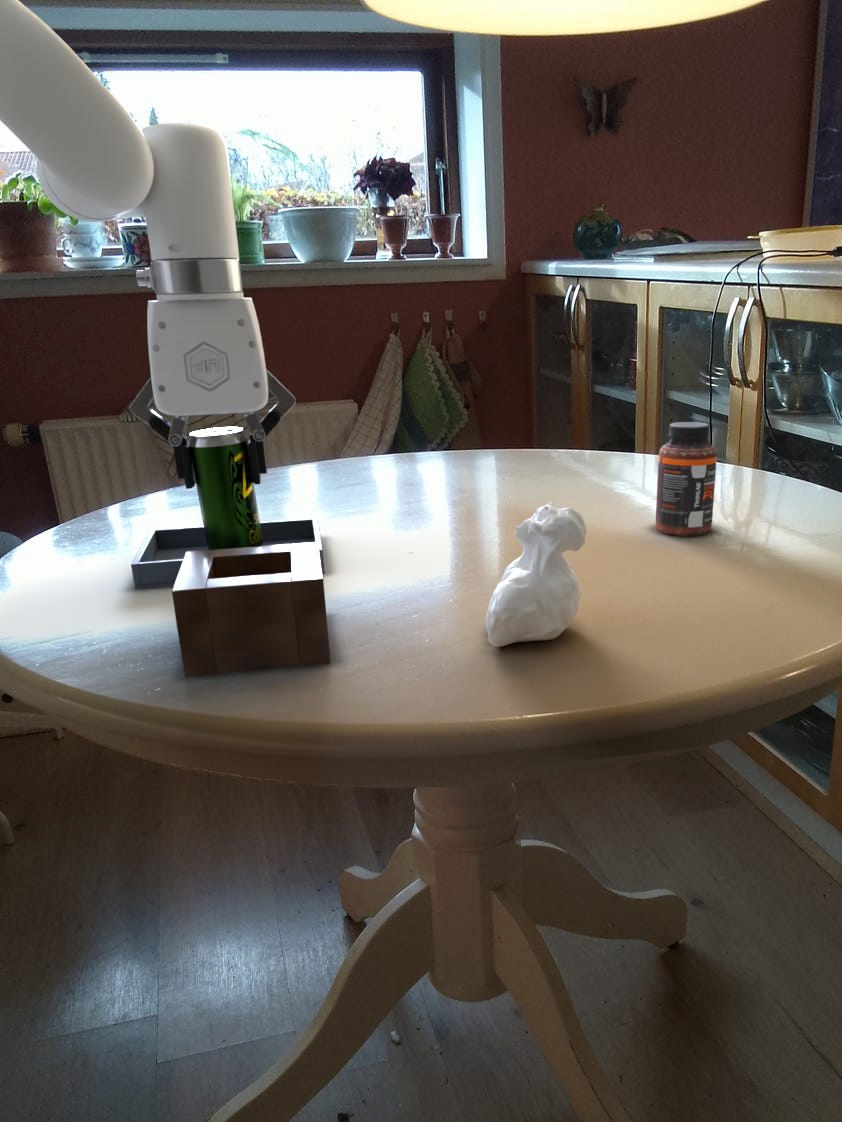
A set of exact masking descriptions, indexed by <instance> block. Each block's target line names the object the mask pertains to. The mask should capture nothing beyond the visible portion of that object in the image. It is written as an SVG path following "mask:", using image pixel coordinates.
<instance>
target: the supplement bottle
mask: <svg viewBox="0 0 842 1122" xmlns="http://www.w3.org/2000/svg"><path fill="white" fill-rule="evenodd" d="M668 430H669V432H668V437H669V439H670V440H669V441H668V442H666V443H665V444H663V445H662V446H661V447H660V449H659V452H658V463H657V481H656V482H657V484H656V502H655V503H656V505H655V528H656V530H658V531H659V532H660V533H663V534H665V535H671V536H678V537H679V536H680V537H695V536H701V535H705V534H707V533H710V531H711V530H712V525H713V524H712V523H713V517H714V502H715V486H716V474H717V473H716V472H717V458H718V452H717V449H716V447H715V446H713V445H712V444H711V442H710V441H709V437H710V425H709V424H708V423H705V422H700V421H699V422H696V421H695V422H694V421H679V422H672V423H670V424H669V429H668Z"/></svg>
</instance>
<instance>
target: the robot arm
mask: <svg viewBox="0 0 842 1122" xmlns="http://www.w3.org/2000/svg"><path fill="white" fill-rule="evenodd" d="M0 122H1V123H2V124H3V125H4V126H5V127H7V129H9V131H10V132H11V133H13V135H14V136H15V137H16V138H17V139H18V140H20V142H21V143H22V144H23V145H24V146H25V147H26V148H27V149H28V150H29V151H30V152H31V153H32V155H34V156H35V157H36V158H37V159H36V173H37V178H38V181H39V185H40V187H41V189H42V191H43V192H44V194H45V196H46V197H47V199H48V200H49V201H50V202H51V203H52V205H54V206H55V207H56V208H57V209H58V210H59V211H60V212H62V213H63V214H66V215H67V216H69V217H71V218H73V219H76V220H79V221H83V222H87V223H103V222H110V221H117V220H124V219H131V218H141V217H144V218H145V223H146V224H145V225H146V231H147V239H148V244H149V252H150V258H151V259H150V260H151V261H150V266H148V267H147V268H146V267H145V268H144V269H140V270H139V269H138V270H136V271H135V275H136V282H137V286H138V287H147V289H148V288H151V290H152V291H153V290H154V294H156V300H148V301H147V312H146V313H147V315H146V316H147V317H146V318H147V319H146V320H147V321H146V322H147V328H146V329H147V330H146V331H147V346H148V360H149V366H150V367H149V369H150V377H149V379H148V380H147V381H146V382H145V384H144V385H143V387H142V388H141V389H140V391H139V393H138V394H137V395H136V397H134V399H133V401H132V402H131V403H130V405H129V408H128V410H129V412H130V413H131V414H132V415H133V416H135V417H136V418H138V419H139V420H140V421H142V422H143V423H145V424H146V425H148V426H149V427H150V428H151V429H152V430H153V431H155V432H156V433H157V434H158V435H159V436H161V437H162V438H164V440H166V441H167V442H168V443H169V445H170V446H171V447H173V454H174V461H175V468H176V474H177V479H178V480H182V479H184V484H185V489H186V490H189V489H193V488H195V486H196V480H195V475H194V469H193V463H192V458H191V452H190V447H189V444H190V440H189V438H188V436H187V435H186V433H187V428H188V424H189V418H190V416H205V415H206V416H207V415H208V416H209V415H226V414H241V415H242V418H243V420H244V422H245V424H246V426H247V428H248V430H249V432H250V433H249V440H248V441H247V443H248V449H249V458H250V466H251V475H252V483H254V485H261V481H262V477H261V476H262V475H264V474H268V467H267V458H266V450H265V449H266V448H265V439H266V438H267V436H268V435H270V433H271V432H272V431H273V430H274V428H275V427H276V426H277V425H278V423H280V421H281V420H282V419H283V418H284V417H285V416H286V415H287V414H288V413H289V412H290V411H291V410H292V409H293V408H294V406H296V404H297V399H296V397H295V395H294V394H292V393H291V391H290V390H289V389H288V388H286V387H285V386H284V385H283V384H282V382H280V380H278V379H277V377H276V376H274V374H272V373H271V372H270V371H269V370H268V369H267V367H266V359H265V351H264V347H263V340H262V334H261V329H260V323H259V320H258V316H257V312H256V311H257V310H256V308H255V304H254V302H253V301H254V300H253V299H252V297H244V287H243V280H242V279H243V278H242V270H241V261H240V251H239V242H238V234H237V225H236V215H235V214H236V213H235V207H234V206H235V205H234V199H233V198H234V197H233V189H232V188H233V187H232V179H231V171H230V161H229V154H228V153H229V152H228V148H227V144H226V141H225V139H224V137H223V136H222V134H221V133H220V132H219V131H218V130H216V129H215V128H212V127H210V126H207V125H203V124H196V123H188V122H187V123H186V122H185V123H184V122H170V123H169V122H167V123H157V124H151V125H149V126H145V127H144V128H143V127H142V129H141V128H140V127H139V125H138V124H137V122H136V121H135V120H134V118H133V117H132V115H131V114H130V113H129V112H128V111H127V109H126V108H125V107H124V106H123V104H121V103H120V101H118V99H117V98H116V97H115V95H113V93H111V91H110V90H109V89H108V88H107V86H106V85H104V84H103V82H102V81H101V80H100V79H99V78H98V77H97V75H96V74H95V73H94V72H93V71H92V69H90V67H89V66H87V64H86V63H85V62H84V60H82V59H81V58H80V57H79V56H78V55H77V53H76V52H75V51H74V50H73V48H71V47H70V46H69V45H68V44H67V43H66V42H65V40H63V39H62V38H61V37H60V36H59V35H58V34H57V33H56V31H54V30H53V29H52V28H51V27H50V26H49V25H48V24H47V23H45V22H44V21H43V20H42V19H41V18H40V17H39V16H38V15H36V14H35V13H34V12H33V11H32V10H31V9H30V8H28V7H27V6H26V5H24V4H23V2H21V1H20V0H0ZM269 392H270V393H271V394H272V396H273V397H274V398H276V400H277V401H276V403H275V405H274V406H273V407H271V409H270V410H268V412H266V414H265V415H264V416H263V417H262V419H261V417H260V414H259V412H258V411H259V410H262V409H263V408H264V407H266V405H267V404H268V401H269ZM153 400H154V404H155V407H156V409H157V410H158V412H160V413H163V414H165V415H168V416H172V419H171V422H170V421H169V420H167V419H166V418H165V417H164V416H162V415H161V414H159V413H157V412H156V411H155V410H154V409H153V408H152V407H151V403H152V402H153Z"/></svg>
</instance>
